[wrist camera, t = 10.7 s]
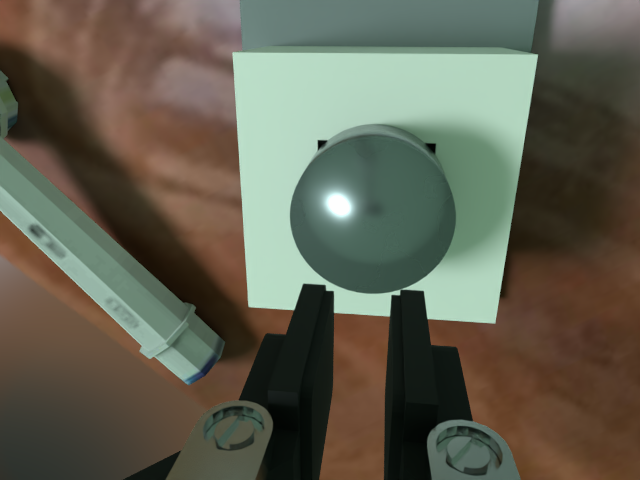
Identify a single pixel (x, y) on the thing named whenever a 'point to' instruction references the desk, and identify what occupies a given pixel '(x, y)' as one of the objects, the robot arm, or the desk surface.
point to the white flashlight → (102, 263)
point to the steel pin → (373, 210)
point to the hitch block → (387, 109)
